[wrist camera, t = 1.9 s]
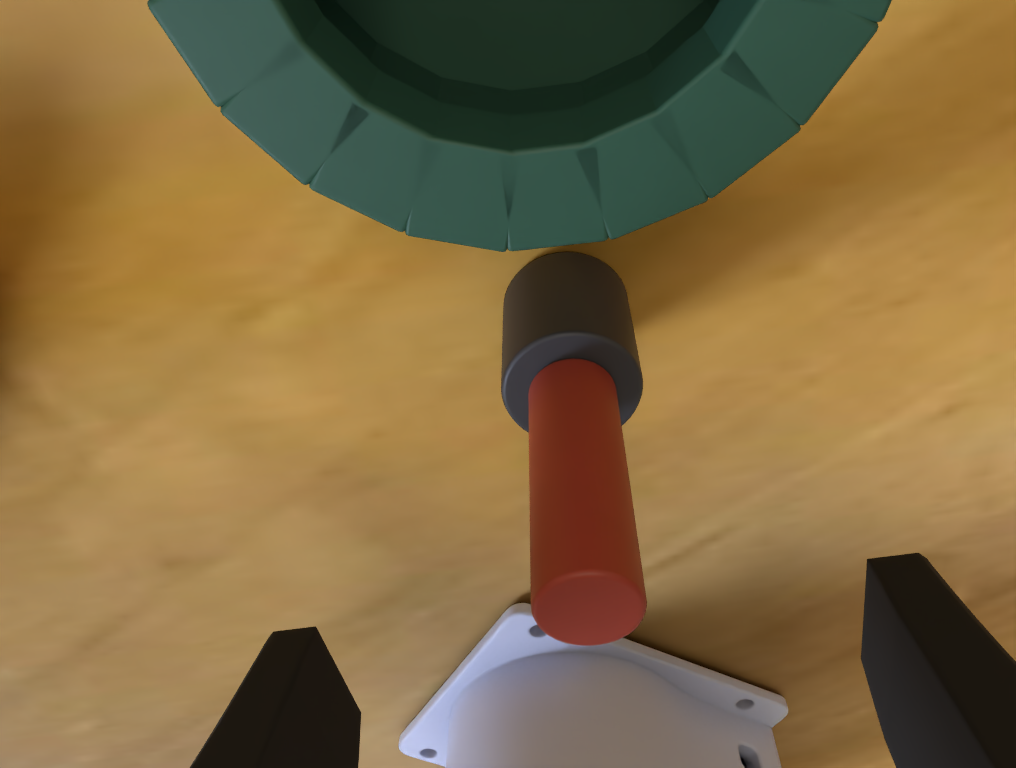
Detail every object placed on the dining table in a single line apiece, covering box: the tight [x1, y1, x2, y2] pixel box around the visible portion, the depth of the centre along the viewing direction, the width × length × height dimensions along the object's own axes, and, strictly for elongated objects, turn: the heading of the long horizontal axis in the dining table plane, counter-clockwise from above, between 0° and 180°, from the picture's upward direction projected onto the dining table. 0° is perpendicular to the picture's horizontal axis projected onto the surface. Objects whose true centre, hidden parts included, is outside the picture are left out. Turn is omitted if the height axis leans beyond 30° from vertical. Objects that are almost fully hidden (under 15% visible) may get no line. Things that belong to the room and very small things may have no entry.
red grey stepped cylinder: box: [501, 252, 647, 646], centre depth 15 cm, size 3×3×8 cm
